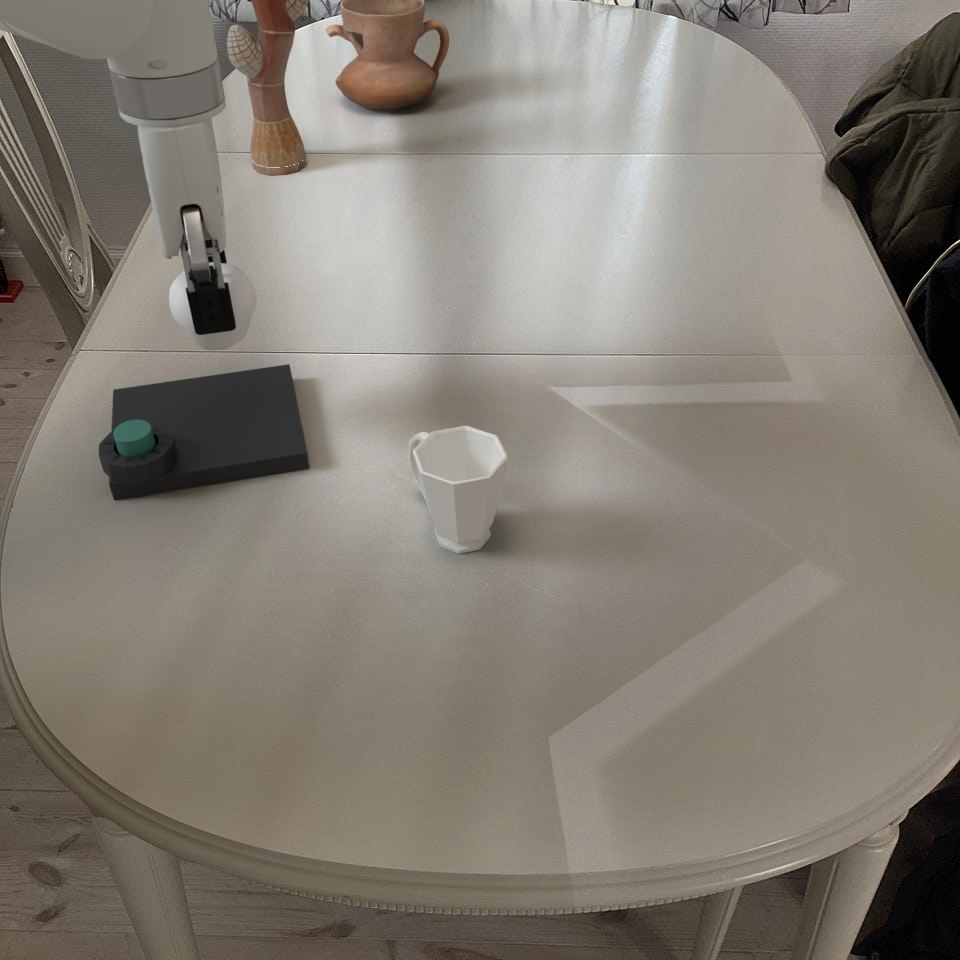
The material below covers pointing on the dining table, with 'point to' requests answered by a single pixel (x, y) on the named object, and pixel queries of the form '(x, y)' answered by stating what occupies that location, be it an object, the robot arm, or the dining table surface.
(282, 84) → the vase
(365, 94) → the ceramic jug
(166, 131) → the robot arm
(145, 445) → the button
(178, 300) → the plain white apple
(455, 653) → the dining table surface
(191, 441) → the scale
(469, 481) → the cup
